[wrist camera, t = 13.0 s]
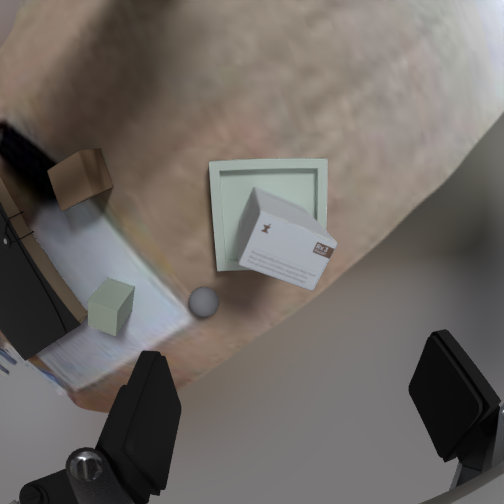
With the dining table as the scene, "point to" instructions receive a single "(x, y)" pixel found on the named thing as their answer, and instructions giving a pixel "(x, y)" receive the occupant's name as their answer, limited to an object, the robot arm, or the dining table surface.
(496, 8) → the dining table surface
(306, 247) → the skincare box
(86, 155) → the walnut cube
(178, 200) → the dining table surface
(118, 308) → the sage block
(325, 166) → the tray
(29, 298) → the file folder
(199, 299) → the grey ball
